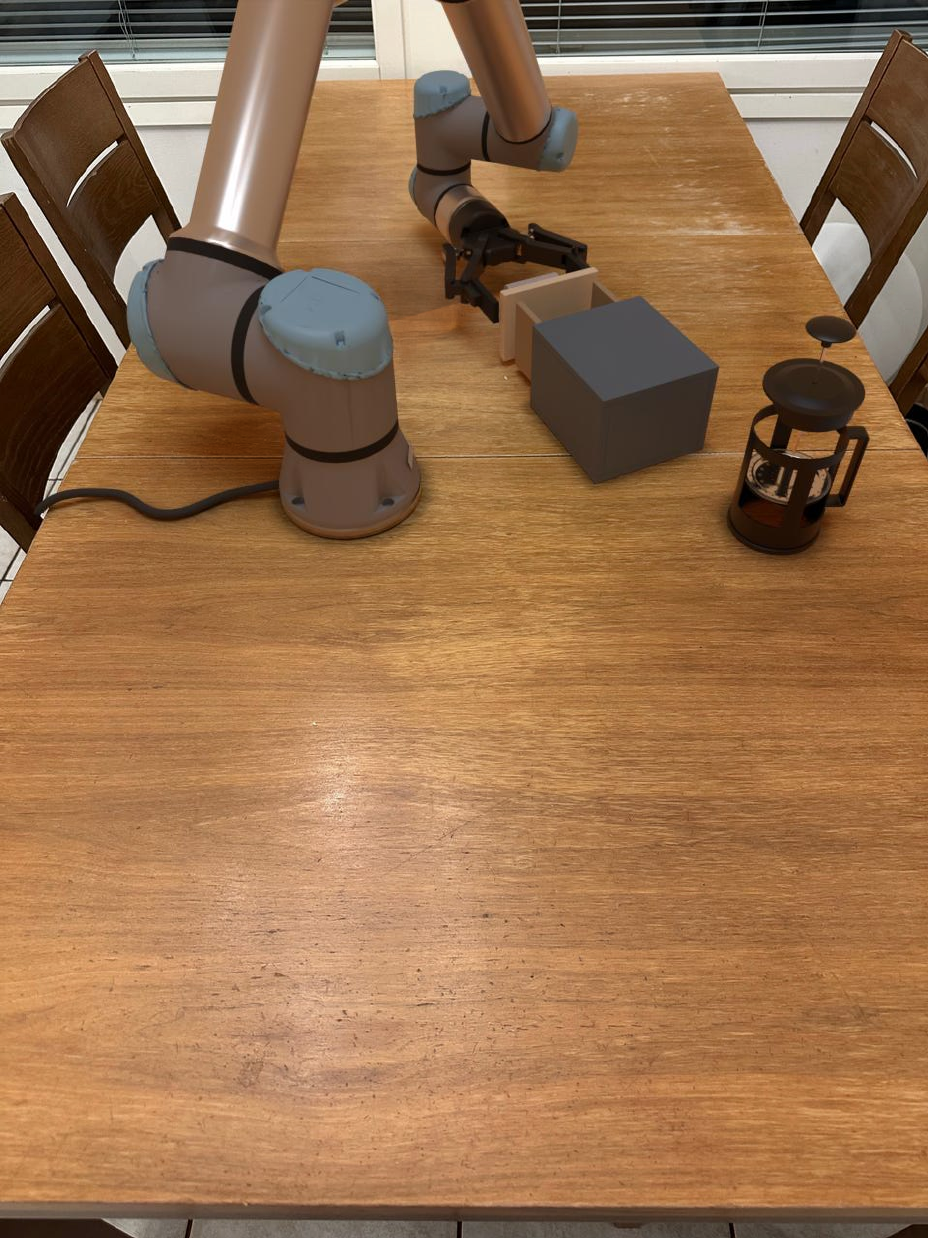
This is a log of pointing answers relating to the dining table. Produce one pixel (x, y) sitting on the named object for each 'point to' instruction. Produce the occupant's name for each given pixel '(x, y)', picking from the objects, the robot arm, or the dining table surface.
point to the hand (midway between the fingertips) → (545, 300)
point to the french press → (788, 477)
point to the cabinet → (621, 387)
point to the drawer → (544, 308)
